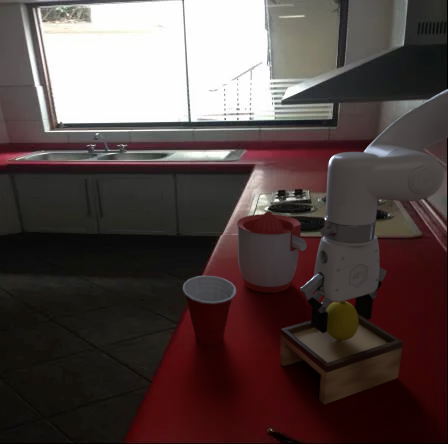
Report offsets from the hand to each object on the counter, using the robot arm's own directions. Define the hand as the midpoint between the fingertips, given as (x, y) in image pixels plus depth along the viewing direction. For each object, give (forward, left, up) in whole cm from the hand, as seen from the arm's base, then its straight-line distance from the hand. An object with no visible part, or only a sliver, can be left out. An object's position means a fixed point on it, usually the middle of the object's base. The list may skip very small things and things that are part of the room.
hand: (341, 322), depth 73 cm
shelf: (0, 0, -10) cm, 10 cm away
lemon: (0, 0, -4) cm, 4 cm away
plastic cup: (+16, -19, -10) cm, 27 cm away
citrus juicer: (-9, -34, -10) cm, 37 cm away
